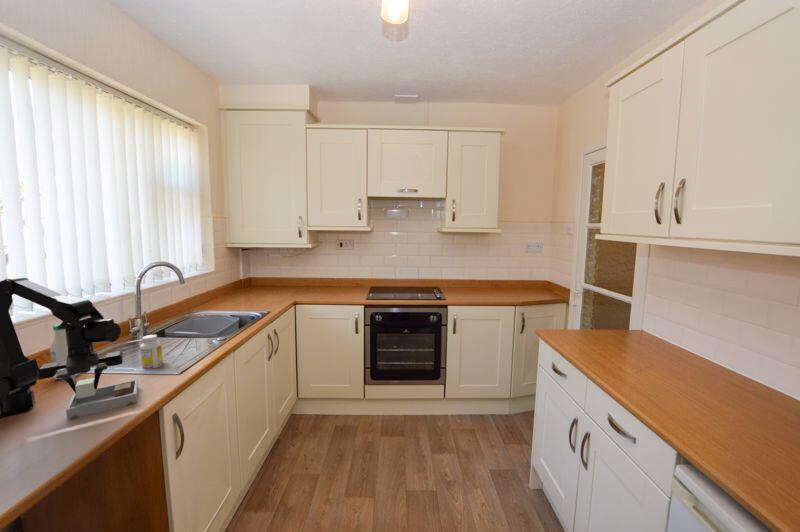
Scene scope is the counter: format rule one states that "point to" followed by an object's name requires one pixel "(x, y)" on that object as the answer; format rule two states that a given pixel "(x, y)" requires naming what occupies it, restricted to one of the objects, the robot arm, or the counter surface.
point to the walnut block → (123, 389)
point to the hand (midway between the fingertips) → (86, 391)
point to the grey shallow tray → (101, 401)
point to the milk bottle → (59, 347)
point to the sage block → (85, 388)
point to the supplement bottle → (151, 352)
